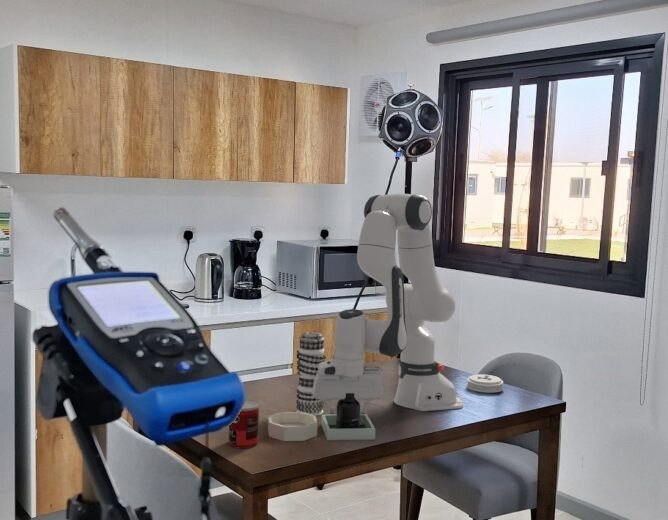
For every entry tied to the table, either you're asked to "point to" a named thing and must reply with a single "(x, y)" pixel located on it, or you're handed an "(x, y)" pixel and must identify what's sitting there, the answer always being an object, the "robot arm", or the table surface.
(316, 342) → the decorative candle
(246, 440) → the canned food
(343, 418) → the supplement bottle
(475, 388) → the lid
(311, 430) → the bowl
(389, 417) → the table surface
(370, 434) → the tray
